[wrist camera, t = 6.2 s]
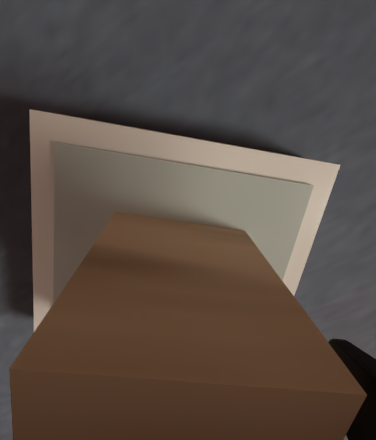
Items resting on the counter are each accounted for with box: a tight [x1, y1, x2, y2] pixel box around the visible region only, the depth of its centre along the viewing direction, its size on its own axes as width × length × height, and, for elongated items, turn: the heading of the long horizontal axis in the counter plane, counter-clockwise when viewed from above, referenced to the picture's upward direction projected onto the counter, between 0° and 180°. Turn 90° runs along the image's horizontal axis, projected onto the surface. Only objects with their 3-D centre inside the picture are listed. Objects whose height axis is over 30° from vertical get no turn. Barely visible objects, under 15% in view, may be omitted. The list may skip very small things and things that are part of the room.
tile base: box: [29, 109, 340, 331], centre depth 11 cm, size 10×10×3 cm
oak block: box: [9, 212, 367, 440], centre depth 7 cm, size 4×4×6 cm
